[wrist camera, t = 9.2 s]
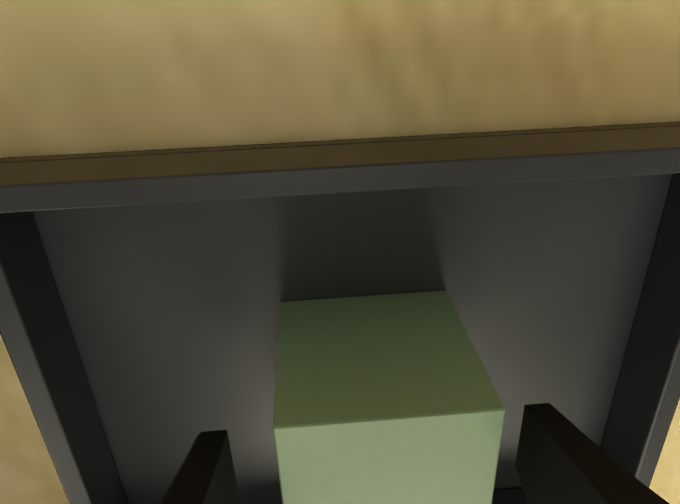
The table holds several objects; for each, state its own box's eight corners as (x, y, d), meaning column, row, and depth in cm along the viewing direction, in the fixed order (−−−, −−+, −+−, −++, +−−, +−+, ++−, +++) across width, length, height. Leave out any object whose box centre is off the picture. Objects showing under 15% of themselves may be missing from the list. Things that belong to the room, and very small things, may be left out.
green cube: (437, 414, 16) (485, 555, 12) (293, 425, 16) (291, 573, 12) (446, 289, 14) (506, 409, 10) (280, 301, 14) (271, 427, 10)
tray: (598, 481, 19) (632, 537, 17) (124, 523, 18) (102, 587, 16) (697, 120, 13) (769, 142, 11) (-2, 158, 12) (-61, 189, 10)
